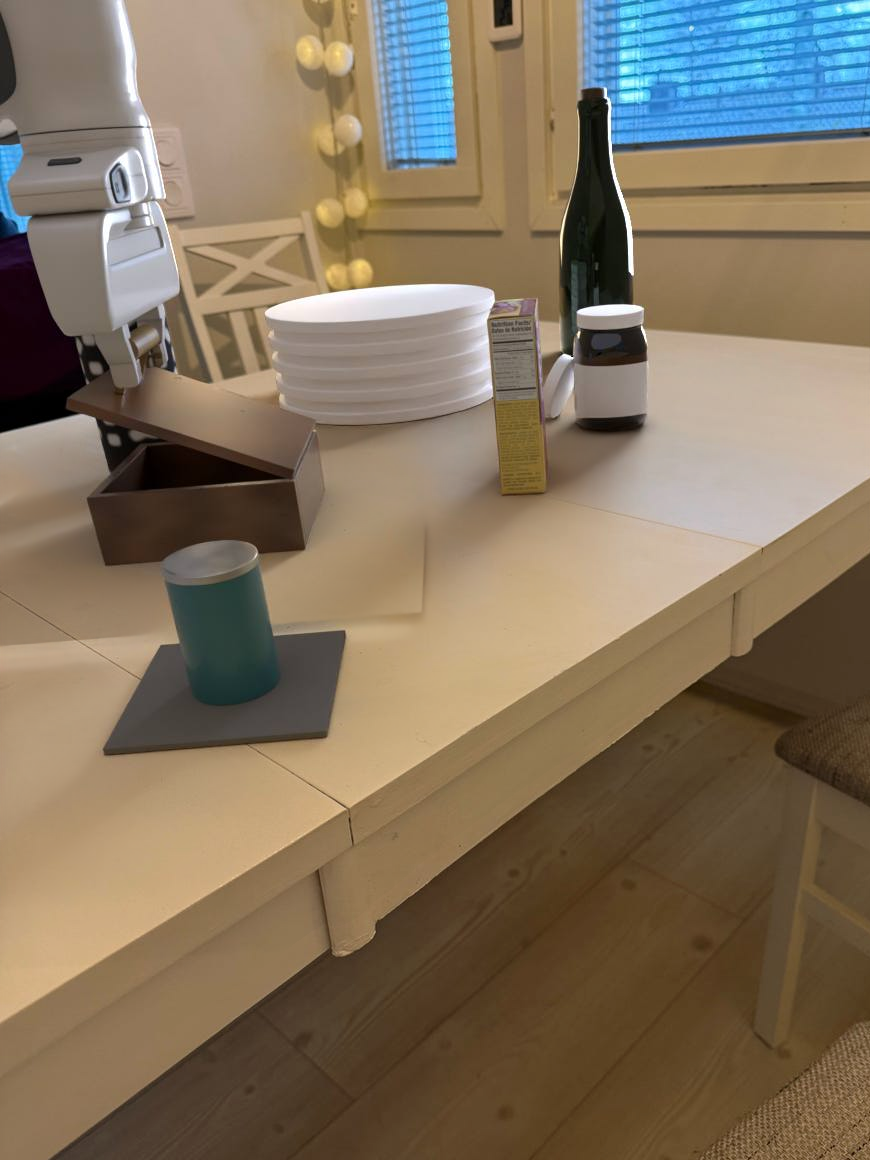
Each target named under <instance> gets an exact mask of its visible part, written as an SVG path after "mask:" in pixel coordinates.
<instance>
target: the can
mask: <svg viewBox="0 0 870 1160" xmlns="http://www.w3.org/2000/svg"><path fill="white" fill-rule="evenodd" d="M259 555H260V554H258V550H257V548H256V547H255V546H254V545H252V544H250V543H247V542H242V541H233V540H223V541H212V542H205V543H200V544H196V545H192V546H189V547H186V548H183V549H181V550H178V551H176V552H174V553H172V554H171V555H169V556H168V557H166V558H165V559H164V560H163V561H162V562H160V564H159V565H160V566H159V569H160V572H161V576H162V578H163V582H164V585H165V586H164V587H165V589H166V590H165V591H166V593H167V599H168V602H169V606H170V610H171V613H172V619H173V622H174V626H175V630H176V635H177V638H178V643H180V647H181V651H182V655H183V659H184V663H185V667H186V671H187V675H188V679H189V683H190V687H191V691H192V694H193V696H194V697H195V698H196V699H197V700H198V701H200V702H202V703H206V704H210V705H234V704H239V703H244V702H247V701H251V700H253V699H256V698H258V697H260V696H263V695H264V694H266V693H268V692H269V691H271V690H272V689H273V688H274V687H275V686H276V685H277V684H278V682H279V680H280V676H281V674H280V668H279V663H278V658H277V653H276V648H275V643H274V637H273V636H274V632H273V627H272V623H271V616H270V611H269V608H268V602H267V597H266V592H265V586H264V581H263V576H262V571H261V566H260V561H259V560H260V556H259Z"/></svg>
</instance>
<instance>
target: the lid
mask: <svg viewBox="0 0 870 1160" xmlns="http://www.w3.org/2000/svg"><path fill="white" fill-rule="evenodd" d="M129 342H130V345H131V348H132V351H133V354H134V356H135V359H139V362H140V366H141V372H142V375H143V380H142V382H141V383H140V384H138V385H137V386H136V387H134V388H121V389H120V388H118V387H116V386H115V384H114V382H113V378H112V374H111V370H110V369H109V370H108V371H107V372H105V373H104V374H102V375H101V376H99V377H98V378H96V379H95V380H93V381H92V382H90V383H89V384H86V385H84V386H83V387H81V388H79V390H77V391H75V392H74V393H72V394H71V395H70V396H69V397H67V398H66V404H65V409H66V410H68V411H71V412H75V413H77V414H81V415H84V416H88V417H90V418H94V419H95V418H97V419H100V420H103V421H106V422H110V423H113V424H116V425H119V426H122V427H125V428H129V429H132V430H135V431H138V432H141V433H144V434H148V435H151V436H154V437H157V438H160V439H163V440H167V441H170V442H173V443H176V444H179V445H182V446H186V447H189V448H192V449H195V450H198V451H201V452H205V453H208V454H211V455H214V456H217V457H220V458H224V459H227V460H230V461H233V462H236V463H239V464H243V465H246V466H249V467H252V468H255V469H258V470H262V471H265V472H268V473H271V474H274V475H277V476H281V477H284V478H287V479H290V480H292V478H293V476H294V474H295V472H296V469H297V467H298V465H299V462H300V460H301V458H302V456H303V453H304V451H305V449H306V446H307V444H308V442H309V440H310V437H311V435H312V433H313V430H315V428H316V425H317V423H316V421H317V420H315V419H312V418H309V417H306V416H303V415H300V414H297V413H294V412H291V411H288V410H285V409H282V408H280V406H276V405H272V404H269V403H266V402H263V401H260V400H258V399H254V398H252V397H248V396H245V395H243V394H240V393H236V392H234V391H230V390H227V389H224V388H220V387H218V386H215V385H213V384H209V383H206V382H203V381H199V380H196V379H194V378H191V377H187V376H186V375H185V376H184V375H181V374H179V373H178V374H176V373H173V372H170V371H167V370H164V369H161V368H158V367H152V368H147V367H146V366H147V361H148V355H149V350H151V349H152V348H153V347H155V346H156V345H157V344H158V342H159V334H158V332H157V330H156V329H155V328H154V327H153V326H151V325H142V326H140V327H138V328H136V329H135V330H133V331H131V332H130V338H129Z"/></svg>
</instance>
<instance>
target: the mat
mask: <svg viewBox="0 0 870 1160" xmlns="http://www.w3.org/2000/svg"><path fill="white" fill-rule="evenodd" d="M273 637H274V643H275V648H276V653H277V658H278V663H279V668H280V674H281V676H280V680H279V682H278V684H277V685H276V686H275V687H274V688H273V689H272V690H271V691H269V692H268V693H266V694H264V695H263V696H260V697H258V698H256V699H253V700H251V701H247V702H244V703H239V704H234V705H210V704H206V703H202V702H200V701H198V700H197V699H196V698H195V697H194V696H193V694H192V691H191V687H190V683H189V679H188V675H187V671H186V667H185V663H184V659H183V655H182V651H181V647H180V643H179V642H178V643H165V644H160V645H159V646H158V648H157V650H156V652H155V654H154V656H153V658H152V659H151V661H150V662H149V665H148V666H147V668H146V670H145V672H144V674H143V676H142V678H141V679H140V681H139V683H138V685H137V686H136V688H135V690H134V692H133V694H132V695H131V697H130V699H129V700H128V703H127V704H126V706H125V708H124V710H123V711H122V714H121V715H120V717H119V718H118V720H117V722H116V724H115V726H114V727H113V729H112V731H111V733H110V735H109V737H108V738H107V740H106V742H105V744H104V745H103V747H102V751H103V755H104V756H107V755H120V754H132V753H144V752H158V751H169V750H180V749H181V750H182V749H193V748H205V747H207V748H208V747H218V746H229V745H241V744H242V745H243V744H254V743H255V744H256V743H267V742H269V743H270V742H279V741H281V742H282V741H290V740H291V741H292V740H293V741H294V740H305V739H316V738H326V737H328V733H329V727H330V722H331V721H330V720H331V717H332V711H333V706H334V699H335V695H336V690H337V686H338V685H337V684H338V679H339V674H340V669H341V664H342V663H341V662H342V658H343V653H344V652H343V651H344V647H345V641H346V637H347V633H346V630H345V629H340V630H328V631H327V630H325V631H317V632H304V633H303V632H302V633H290V634H278V635H273Z"/></svg>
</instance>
